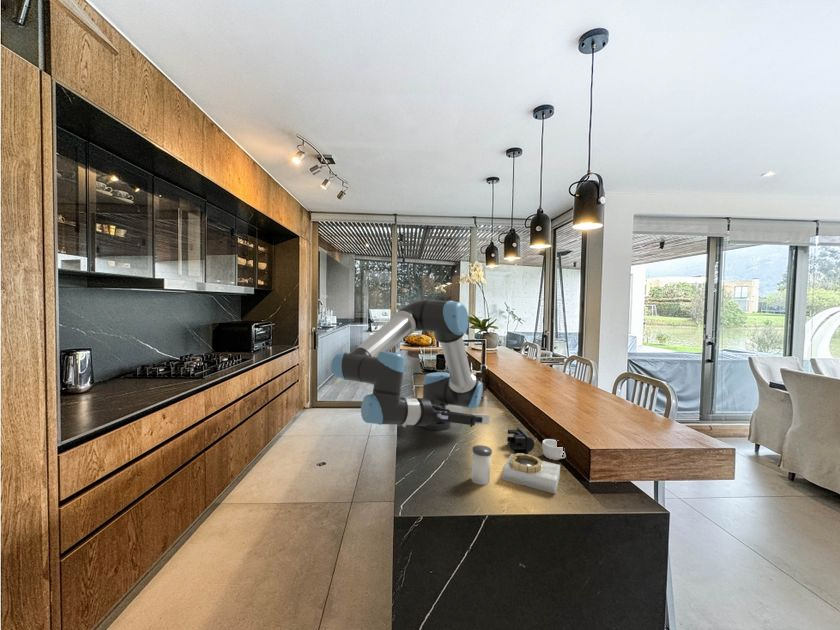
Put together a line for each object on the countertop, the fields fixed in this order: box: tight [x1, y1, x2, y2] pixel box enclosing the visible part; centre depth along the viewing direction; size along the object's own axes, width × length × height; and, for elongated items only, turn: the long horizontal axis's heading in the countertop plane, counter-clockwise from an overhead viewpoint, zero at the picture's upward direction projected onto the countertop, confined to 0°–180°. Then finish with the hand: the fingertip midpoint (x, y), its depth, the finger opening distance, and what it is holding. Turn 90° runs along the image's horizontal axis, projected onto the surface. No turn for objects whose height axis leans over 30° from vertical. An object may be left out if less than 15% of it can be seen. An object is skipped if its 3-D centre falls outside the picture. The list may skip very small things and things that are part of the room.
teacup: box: [541, 438, 567, 461], centre depth 133 cm, size 10×8×5 cm
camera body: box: [501, 453, 561, 494], centre depth 117 cm, size 16×12×6 cm
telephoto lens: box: [471, 444, 493, 486], centre depth 115 cm, size 6×6×10 cm
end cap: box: [506, 427, 535, 454], centre depth 141 cm, size 10×7×7 cm
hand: (474, 415), depth 113 cm, fingers open, 13 cm apart
